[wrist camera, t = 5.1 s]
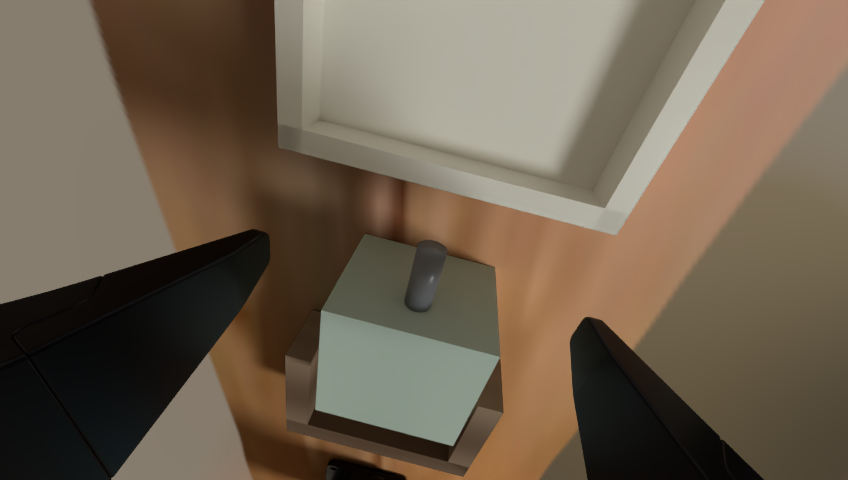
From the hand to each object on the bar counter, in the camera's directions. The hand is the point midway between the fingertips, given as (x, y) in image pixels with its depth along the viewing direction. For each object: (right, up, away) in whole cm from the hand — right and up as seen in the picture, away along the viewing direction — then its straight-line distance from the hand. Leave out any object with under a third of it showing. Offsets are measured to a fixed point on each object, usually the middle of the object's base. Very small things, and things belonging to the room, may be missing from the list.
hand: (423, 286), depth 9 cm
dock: (-2, -7, +10) cm, 13 cm away
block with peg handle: (0, -1, +7) cm, 7 cm away
